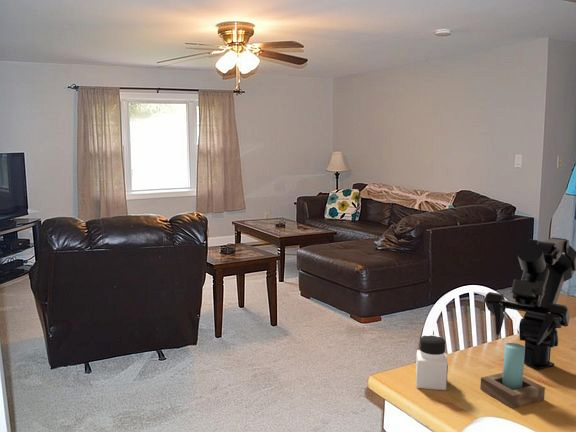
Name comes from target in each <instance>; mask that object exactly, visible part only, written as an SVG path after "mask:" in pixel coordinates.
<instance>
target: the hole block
mask: <svg viewBox="0 0 576 432" xmlns="http://www.w3.org/2000/svg"><path fill="white" fill-rule="evenodd" d="M502 380H503V372H500V373H495V374H491V375H487V376H482V377H480V387H479V389H480V390H481V391H483V392H484V393H486V394H488V395H490V396H491V397H493V398H494V399H496V400H497V401H499V402H501V403H503V404H505V405H506V406H508V407H509V408H512V409H513V408H518V407H522V406H525V405H529V404H533V403H536V402H539V401H541V402H542V401H544V400H545V393H546V387H544V385H541V384H539V383H537V382H535V381H533V380H531V379H529V378H527V377H526V376H523V383H522V388H520V389H516V390H511V389H510V388H508V387H506V386H504V385H502Z"/></svg>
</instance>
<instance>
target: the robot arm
mask: <svg viewBox="0 0 576 432" xmlns="http://www.w3.org/2000/svg"><path fill="white" fill-rule="evenodd" d="M516 255H517V258H518V261H519V266H520V269H521V270H522V271H523V272H522V276H521V279H513V280H512V281H513V282H512V287H511V294H512V298H513V299H514V301H512V300H509V299H508V300H507V299H506V298H505V296H504V294H503V293H498V292H493V291H489V292H488V293H486V294H485V295H484V299H483V301H484V303H485V306H486V308H487V310H488V311H489V312H491V314H492V315H494V320H495V334H496V336H498V337H499V336H500V333H501V330H502V327H503V323H504V320H505V313H504V312H505V311H506V309H509V310H513V311H514V310H515V311H519V312H524V313H525V314H524V315H523V318H521V319H520V321H519V326H518V328H519V329H518V331H519V332H518V333H519V341H524V347H525V356H524V365H525V364H526V365H528V366H530V367H532V368H534V369H536V370H540V369H545V368H550V367H554V366H555V363H554V362H552V361H551V351H552V349H553V348H554V347H558V346H559V334H558V330H557V329H562V327H568V326H569V323H570V318H571V317H570V313H569V308H568V307H567V305H563V304H558V303H557V302H558V300H559V296H560V294H561V292H562V291H561V290H562V289H563V286H564V283H565V282H567V281H569V280H570V279H572V278H573V275H574V274H575V272H576V250H575V249H574V248H573V247H572V246H571V244H570V240H569V239H567V238H561V237H560V238H559V237H549V238H548V239H546V240H544V241H543V240H538V239H531V238H530V239H529V240H528V242H526V243H523V244H521V245H520V246H519V247H518V248H517V251H516Z"/></svg>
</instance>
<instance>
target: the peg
mask: <svg viewBox="0 0 576 432" xmlns="http://www.w3.org/2000/svg"><path fill="white" fill-rule="evenodd" d="M524 356H525V345H523V344H519V343H515V342H507V343H505V344H504V353H503V367H502V373H503V380H502V385H504V386H506V387H508V388H510V389H511V390H516V389H520V388H522V383H523V377H524V369H525V368H524V367H525V363H524Z"/></svg>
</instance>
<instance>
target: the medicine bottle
mask: <svg viewBox="0 0 576 432" xmlns="http://www.w3.org/2000/svg"><path fill="white" fill-rule="evenodd" d="M415 358H416V359H415V361H416V363H415V382H416V383H415V385H416V388H418V389H425V390H427V389H428V390H436V391H437V390H438V391H447V389H448V388H447V387H448V373H449V371H448V369H449V368H448V367H449V363H448V357H447V353H446V340H445V339H444V338H443V337H442V336H439V335H437V334H425V335H421V337H420V338H419V349H417V350H416V357H415Z"/></svg>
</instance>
